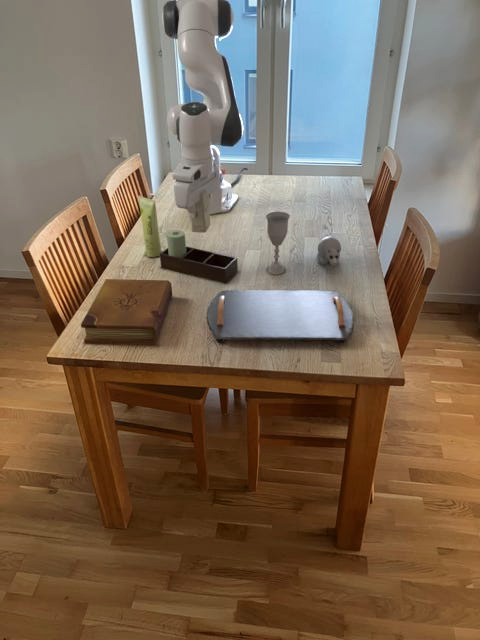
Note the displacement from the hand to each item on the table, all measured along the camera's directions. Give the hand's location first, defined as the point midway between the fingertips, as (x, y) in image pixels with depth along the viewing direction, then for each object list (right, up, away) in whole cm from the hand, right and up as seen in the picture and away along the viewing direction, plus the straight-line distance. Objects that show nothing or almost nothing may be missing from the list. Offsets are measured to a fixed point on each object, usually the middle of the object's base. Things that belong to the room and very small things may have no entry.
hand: (200, 212), depth 154 cm
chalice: (+23, -17, +9) cm, 30 cm away
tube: (-17, -10, +19) cm, 27 cm away
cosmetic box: (0, -4, +3) cm, 5 cm away
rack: (-1, -16, +9) cm, 19 cm away
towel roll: (-8, -14, +12) cm, 20 cm away
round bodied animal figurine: (+40, -15, +11) cm, 44 cm away
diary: (-18, -32, -13) cm, 38 cm away
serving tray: (+22, -32, -14) cm, 42 cm away
